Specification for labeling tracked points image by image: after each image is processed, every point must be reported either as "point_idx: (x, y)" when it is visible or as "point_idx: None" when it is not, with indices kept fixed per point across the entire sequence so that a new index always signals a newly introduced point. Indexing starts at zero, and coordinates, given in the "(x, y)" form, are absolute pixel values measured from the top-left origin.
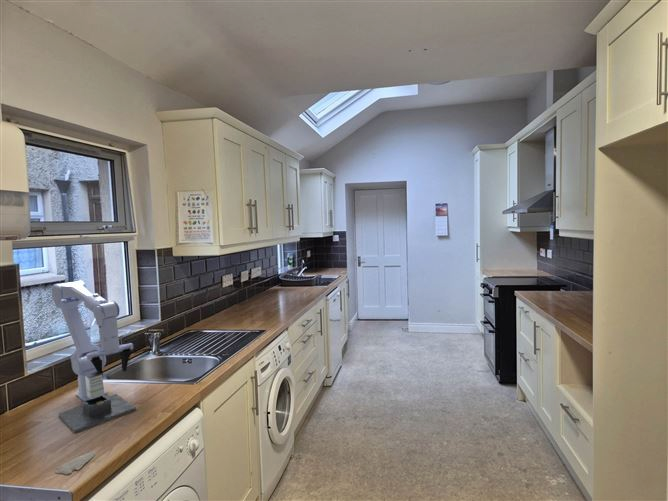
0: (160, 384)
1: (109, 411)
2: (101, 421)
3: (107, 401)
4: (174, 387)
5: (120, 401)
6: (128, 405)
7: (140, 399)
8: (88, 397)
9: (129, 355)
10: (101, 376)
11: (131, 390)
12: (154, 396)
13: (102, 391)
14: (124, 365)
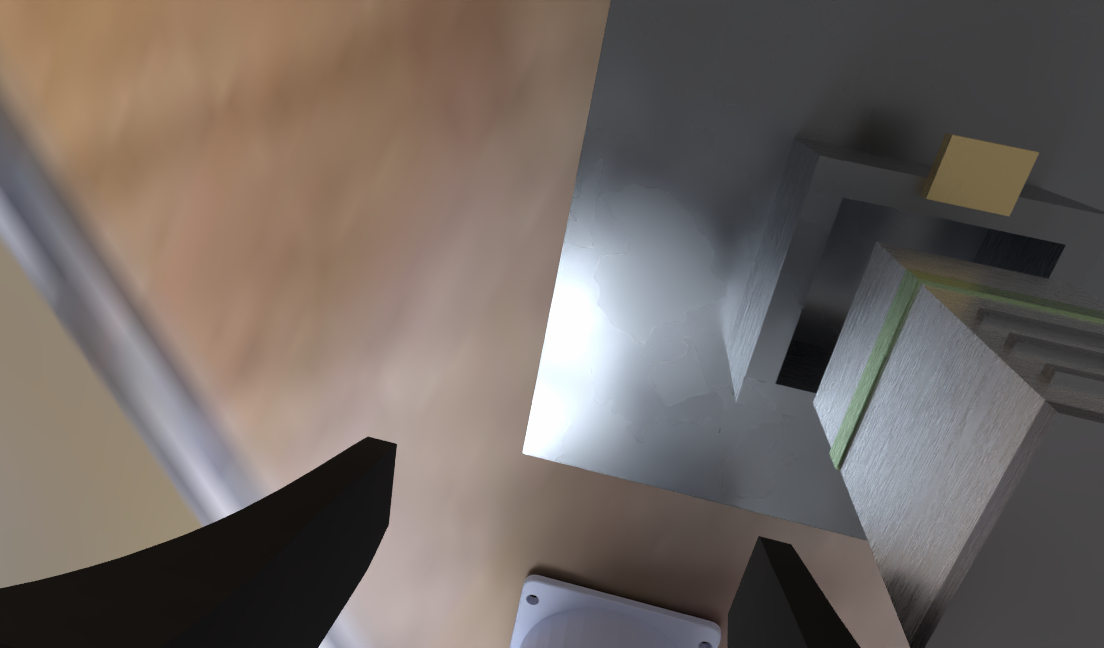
0: (145, 282)
1: (844, 100)
2: None
3: (856, 161)
4: (75, 51)
5: (610, 243)
6: (641, 28)
7: (440, 134)
8: (671, 635)
9: (63, 588)
10: (1047, 387)
11: (377, 430)
12: (315, 47)
13: (921, 264)
14: (338, 505)
